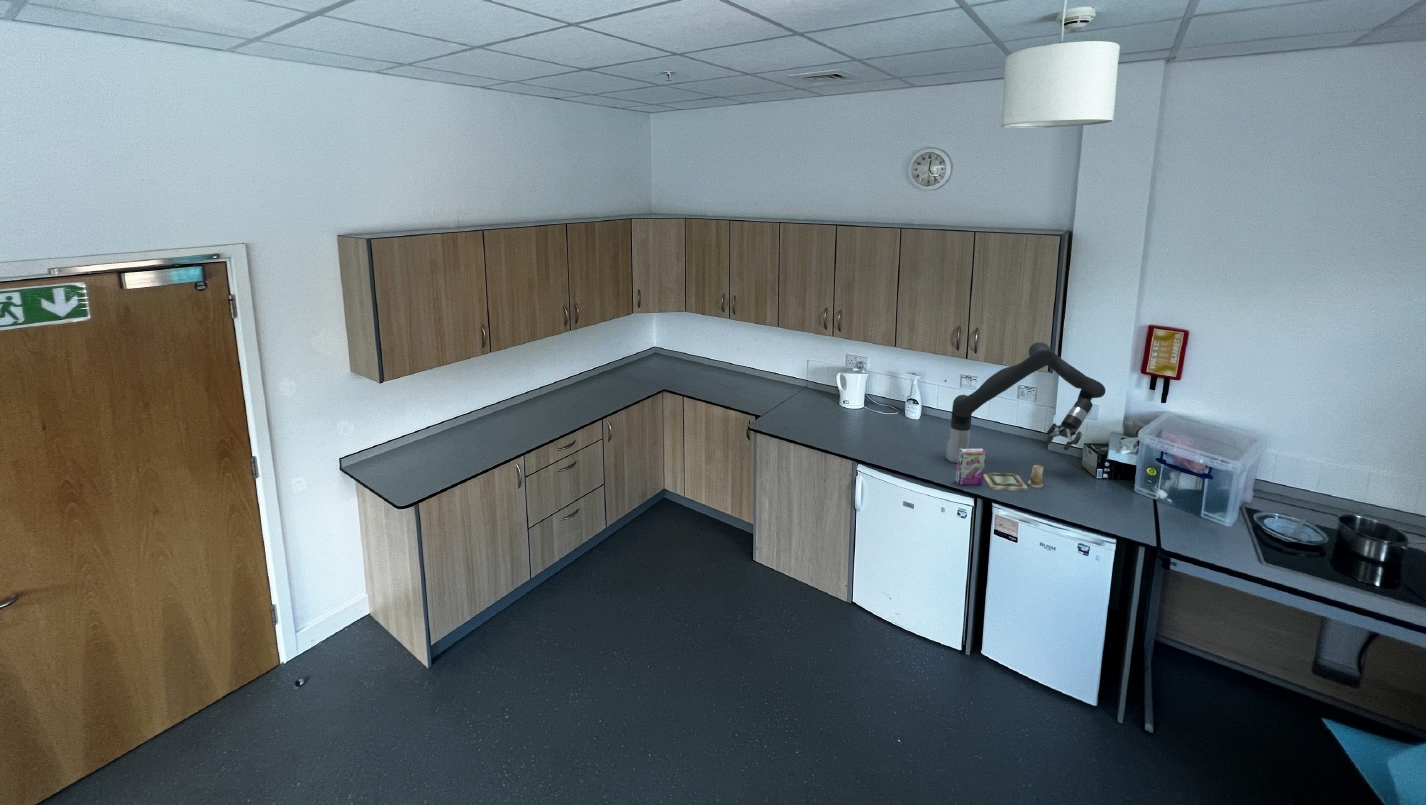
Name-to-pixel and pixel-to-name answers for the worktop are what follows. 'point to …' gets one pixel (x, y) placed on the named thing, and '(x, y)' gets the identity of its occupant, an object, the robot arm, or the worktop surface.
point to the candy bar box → (970, 466)
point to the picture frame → (1004, 481)
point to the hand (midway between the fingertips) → (1056, 446)
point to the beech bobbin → (1036, 477)
